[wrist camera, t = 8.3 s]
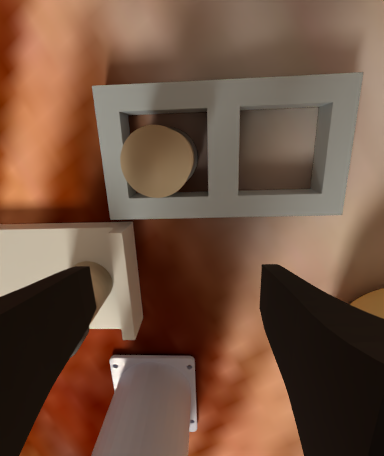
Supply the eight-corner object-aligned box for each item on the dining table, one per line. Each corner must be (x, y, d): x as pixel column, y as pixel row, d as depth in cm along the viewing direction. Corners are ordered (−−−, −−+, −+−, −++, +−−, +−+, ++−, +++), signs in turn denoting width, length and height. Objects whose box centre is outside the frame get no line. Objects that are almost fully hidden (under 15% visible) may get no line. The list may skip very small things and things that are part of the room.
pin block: (328, 208, 19) (342, 214, 17) (119, 212, 20) (110, 219, 18) (345, 80, 17) (363, 72, 15) (104, 92, 18) (92, 86, 16)
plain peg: (118, 303, 21) (85, 362, 15) (70, 303, 21) (21, 361, 16) (111, 258, 20) (74, 304, 14) (61, 259, 20) (4, 304, 14)
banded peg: (203, 135, 18) (202, 130, 12) (191, 190, 19) (185, 208, 14) (147, 122, 18) (121, 111, 12) (139, 178, 19) (112, 192, 14)
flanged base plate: (143, 317, 23) (135, 340, 20) (-6, 317, 24) (-32, 338, 21) (132, 221, 20) (121, 233, 18) (-35, 224, 21) (-70, 236, 18)
